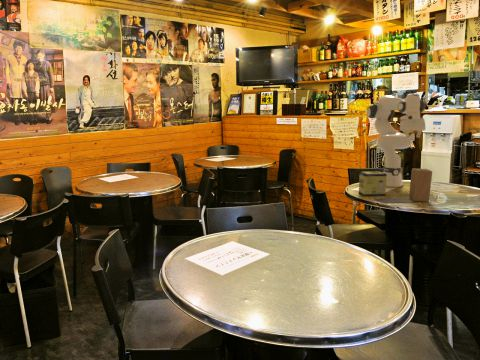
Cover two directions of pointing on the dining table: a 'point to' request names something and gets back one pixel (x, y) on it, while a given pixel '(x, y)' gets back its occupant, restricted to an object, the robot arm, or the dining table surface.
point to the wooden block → (420, 184)
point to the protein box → (372, 183)
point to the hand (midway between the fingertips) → (412, 137)
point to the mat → (394, 200)
